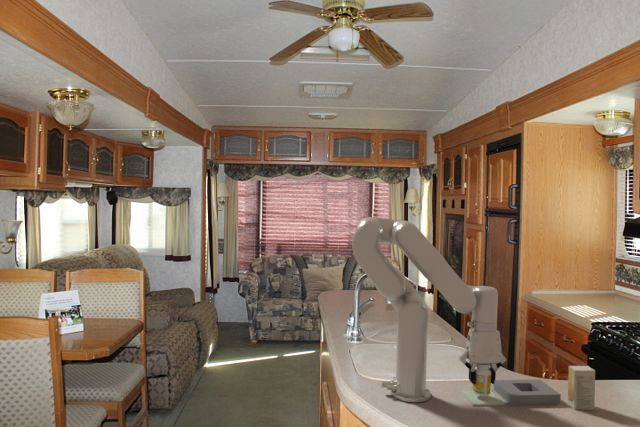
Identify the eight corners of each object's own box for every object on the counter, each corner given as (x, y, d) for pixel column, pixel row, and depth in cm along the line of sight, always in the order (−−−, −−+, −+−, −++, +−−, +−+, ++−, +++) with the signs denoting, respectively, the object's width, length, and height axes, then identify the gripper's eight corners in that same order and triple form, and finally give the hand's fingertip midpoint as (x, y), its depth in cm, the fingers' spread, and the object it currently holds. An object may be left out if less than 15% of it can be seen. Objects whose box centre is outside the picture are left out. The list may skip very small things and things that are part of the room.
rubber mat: (473, 405, 146) (473, 404, 146) (460, 392, 156) (460, 390, 156) (504, 405, 147) (504, 403, 147) (490, 391, 157) (490, 390, 157)
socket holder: (510, 405, 147) (511, 395, 147) (493, 389, 159) (493, 380, 159) (560, 403, 148) (560, 394, 148) (539, 388, 160) (539, 379, 160)
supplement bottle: (476, 396, 148) (477, 366, 148) (469, 389, 154) (470, 360, 153) (493, 396, 149) (494, 365, 148) (485, 389, 154) (486, 359, 154)
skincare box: (587, 404, 149) (589, 365, 148) (594, 410, 144) (596, 370, 144) (566, 403, 149) (567, 364, 148) (573, 409, 144) (574, 369, 144)
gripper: (462, 329, 146) (460, 387, 147) (516, 329, 147) (513, 387, 148) (453, 322, 153) (451, 378, 154) (504, 322, 155) (502, 377, 155)
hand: (481, 381), depth 151 cm, fingers closed on supplement bottle, 5 cm apart
